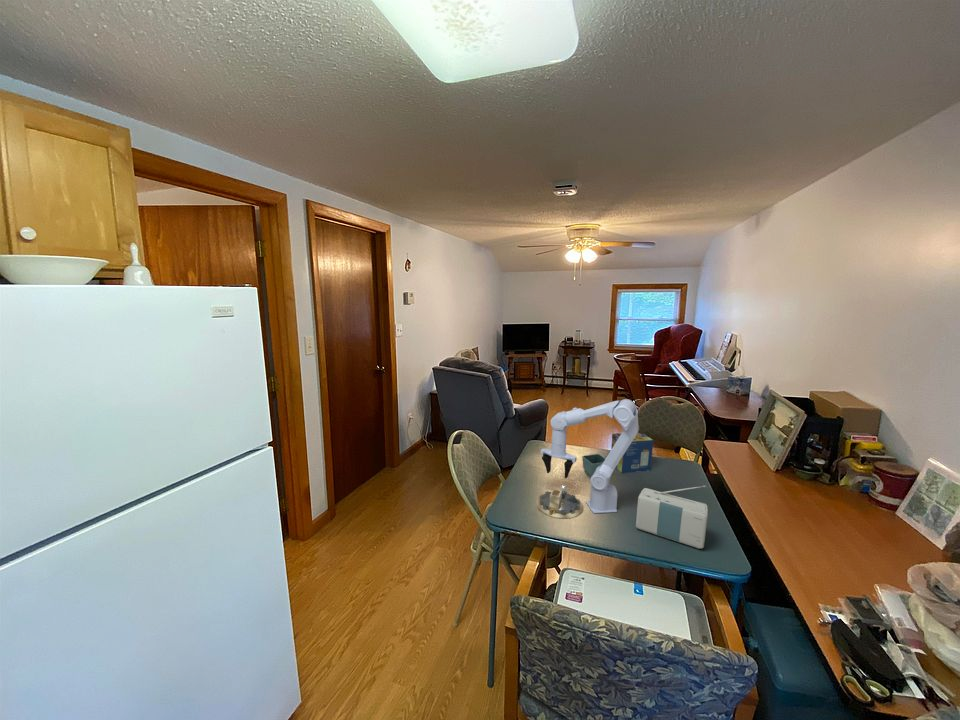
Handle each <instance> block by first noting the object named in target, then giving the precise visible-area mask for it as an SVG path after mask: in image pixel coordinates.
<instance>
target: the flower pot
mask: <svg viewBox="0 0 960 720" xmlns="http://www.w3.org/2000/svg"><path fill="white" fill-rule="evenodd" d="M581 457H582V458H581V459H582V466H583V468H582V469H583V470H584V472H585V474H586V476H588V477H589V479H591V477H592V476H593V474H594V473H595V471H596V468H597V467H598V466H600V465H602V464H603V462H604V461H605V459H606V457H604V456H602V455H601V454H600V453H593V454H585V455H582V456H581Z"/></svg>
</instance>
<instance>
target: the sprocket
mask: <svg viewBox="0 0 960 720" xmlns="http://www.w3.org/2000/svg"><path fill="white" fill-rule="evenodd" d="M560 487H561V488H560V490H561V491H562V502H561V505H560V508H559V509H555V508H550V494H551V492H552V491H549V490H547V491H545V493H543V494H544V495H543V494H540V495H539V496H540V505H543V509H544V510H550V509H552V513H553V514H555V513H559V514H562V515H566V514H567V513H571V514H574V513H575V510H579V509H580V501H581V500H580V499H579V498H577V497H576V495H575V494H571V493H569V492H568V491H567V486H566V484H561V485H560ZM575 497H576V498H577V499H576V498H575ZM579 500H580V501H579Z"/></svg>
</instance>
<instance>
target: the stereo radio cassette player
mask: <svg viewBox="0 0 960 720" xmlns="http://www.w3.org/2000/svg"><path fill="white" fill-rule="evenodd" d="M702 487H703V488H706V485H702V486H701V488H702ZM698 488H699V489H700V486H694V487H686V488H680V489H679V488H678V489H674V490H667V491H658V490H655V489H651V488H647V487H644V488H643V489H642V490H641V491H640V493H639V495H638V497H637V507H636V517H635V518H636V521H635V527H636V529H638V530H640V531H644V532H646V533H650V534H653V535H656V536H658V537H659V536H660V537H662V538H665V539H668V540H672V541H675V542H677V543H681V544H684V545H687V546H690V547H693V548H696V549H704V547H705V542H706V540H705V539H706V531H707V525H708V524H707V523H708V516H709V513H708V505H707V504H706V503H705V502H700V501H696V500H692V499H690V498H689V499H688V498H684V497H682V496H681V497H680V496H677V495H673V494H670V493H674V492H680V491H681V492H682V491H686V490H693V489H698Z"/></svg>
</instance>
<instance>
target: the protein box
mask: <svg viewBox="0 0 960 720" xmlns="http://www.w3.org/2000/svg"><path fill="white" fill-rule="evenodd" d="M621 433H622V432H620V433H619V432H618V433H617V432H615V433H612V434H611V445H610V446H611V447H610V450H611V449H612V448H613V446H614V445H615V443H616V441H617V440H618V438H619V437H620V435H621ZM653 447H654V439H652V438H651V437H649V436H648V435H646V434H645V433H643V432H641V431H638V433H637V435H636V436H635V438H634V439H633V441H632V442H631V444H630V446H629V447H628V449H627V450H626V452H625V453H624V455H623V456H622V458H621V460H620V461H619V463H618V464H617V466H616V467H615V469H616V470H617V471H618V472H619V473H620V474H625V473H627V472H629V473H637V472H636V471H641V472H648V471H647V470H650V471H651V470H652V469H651V468H652V457H653V449H654V448H653Z"/></svg>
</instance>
